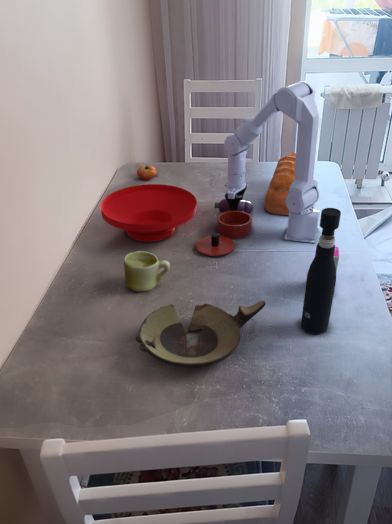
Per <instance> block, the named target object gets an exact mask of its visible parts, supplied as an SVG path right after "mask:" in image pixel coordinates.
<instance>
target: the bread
mask: <svg viewBox="0 0 392 524" xmlns="http://www.w3.org/2000/svg"><path fill="white" fill-rule="evenodd" d="M295 161H296V152H291V153H289V154H286V155H283V156H282V157H280V158H279V159H278V161H277V164H276V167H275V168H274V172H273V174H272V178H271V179H270V183H269V186H268V189H267V192H266V194H265V198H264V203H263V207H264V209H265V210H266V211H267V212H268V213H270V214H275V215H281V216H289V209H288V208H287V206H286V197H287V196H288V194H289V188H290V186H291V184H292V182H293V181H294V175H295Z"/></svg>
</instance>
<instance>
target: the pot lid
mask: <svg viewBox="0 0 392 524" xmlns="http://www.w3.org/2000/svg"><path fill="white" fill-rule="evenodd" d="M235 248H236V244H235V241H234V239H232V238H228V237H224V236H221V235H220V234H219V233H218V232H212V233H211V234H210V235H208V236H204V237H202V238H200V239H198V240H197V241H196V243H195V249H196V250H197V252H198V253H200V254H202V255H205V256H209V257H221V256H225V255H228V254H231V253H232V252H233V251H234V250H235Z"/></svg>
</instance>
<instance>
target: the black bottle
mask: <svg viewBox="0 0 392 524" xmlns="http://www.w3.org/2000/svg"><path fill="white" fill-rule="evenodd" d="M341 215H342V211H341V210H340V209H338V208H335V207H325V208H322V210H321V211H320V218H319V227H320V228H321V234H320V235H319V237H318V243H317V244H316V246H317V250H316V249H315V252H316V256H315V255H314V257H313V259H312V261H311V263H310V264H309V268H308V270H307V273H306V281H305V288H304V295H303V303H302V312H301V320H300V327H301V329H302V330H303V331H304V332H305V333H307V334H310V335H316V336H317V335H323V334H325V333H326V332H327V331H328V329H329V325H330V324H329V323H330V318H331V312H332V306H333V300H334V294H335V289H336V282H337V272H336V266H335V261H334V251H335V247H336V237H335V231H336V230H337V229H339V226H340V223H341V222H340V221H341Z"/></svg>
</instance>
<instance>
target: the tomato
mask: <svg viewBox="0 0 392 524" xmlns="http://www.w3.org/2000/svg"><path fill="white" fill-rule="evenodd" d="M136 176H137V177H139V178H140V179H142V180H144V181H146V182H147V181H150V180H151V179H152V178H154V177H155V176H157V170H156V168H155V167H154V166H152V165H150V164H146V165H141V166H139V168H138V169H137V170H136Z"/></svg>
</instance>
